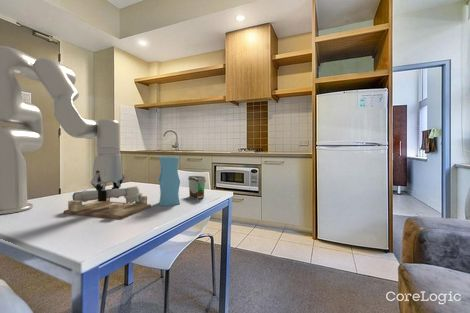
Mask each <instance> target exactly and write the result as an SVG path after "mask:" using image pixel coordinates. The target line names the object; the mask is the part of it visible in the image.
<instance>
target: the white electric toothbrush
mask: <svg viewBox="0 0 470 313" xmlns="http://www.w3.org/2000/svg"><path fill="white" fill-rule="evenodd" d="M104 191H106V198H110V199H113V197H119V198H121V197H124V198H123V199H125V203H135V201H137V202H139V201H141V200H142V198H141V196H143V193H142V192H140V188H139V187H138V186H137V185H136V186H135V185H134V186H129V187H123V188H121V187H120V188H119V189H112V188H109V189H105V190H104ZM71 197H72V200H81V201H82V203H88V202H89V201H90V202H91V201H97V200H98V191H97V190H96V189H93V190H87V189H85V190H82V191H75V192H73V194H72V196H71Z"/></svg>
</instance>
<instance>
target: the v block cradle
mask: <svg viewBox="0 0 470 313" xmlns="http://www.w3.org/2000/svg"><path fill="white" fill-rule="evenodd" d="M141 198H142V200H141V201H139V202H137V201H135V202H134V203H129V202H128V203H126V202H124V201H123V202H122V201H121V202H120V201H111V198H106V201H105V202H103V201H98V200H92V201H90V202H89V201H88V202H84V203H83V202H82V201H81V200H73V199H71V200H68V201H67V209H65V210H63V214H64V215H65V214H67V215H75V216H85V217H86V216H87V217H95V218H106V219H115V220H123V219H126V218H128V217H131V216H134V215H136V214H137V213H140V212H142V211H145V210H148V209H150V208H152V204H149V203H148V196H147V195H141Z"/></svg>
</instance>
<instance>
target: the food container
mask: <svg viewBox="0 0 470 313" xmlns="http://www.w3.org/2000/svg"><path fill="white" fill-rule="evenodd" d="M206 183H207V179H206V177H205V176H202V175H190V176H188V186H189V187H188V190H189V193H188V194H189V198H193V199H194V200H197V201H199V200H203V199H204V197H205V188H206V187H205V184H206Z"/></svg>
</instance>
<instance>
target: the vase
mask: <svg viewBox="0 0 470 313" xmlns="http://www.w3.org/2000/svg"><path fill="white" fill-rule="evenodd" d="M179 159H180V157H179V156H159V157H158V160H159V163H160V174H159V178H158V185H159V190H160V192H159V195H160V196H159V205H160V206H162V207H164V206H167V207H168V206H174V205H180V204H181V203H180V196H179V192H180V187H181V186H180V185H181V180H180V177H179V170H178V168H179V167H178V166H179V161H180V160H179Z"/></svg>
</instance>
